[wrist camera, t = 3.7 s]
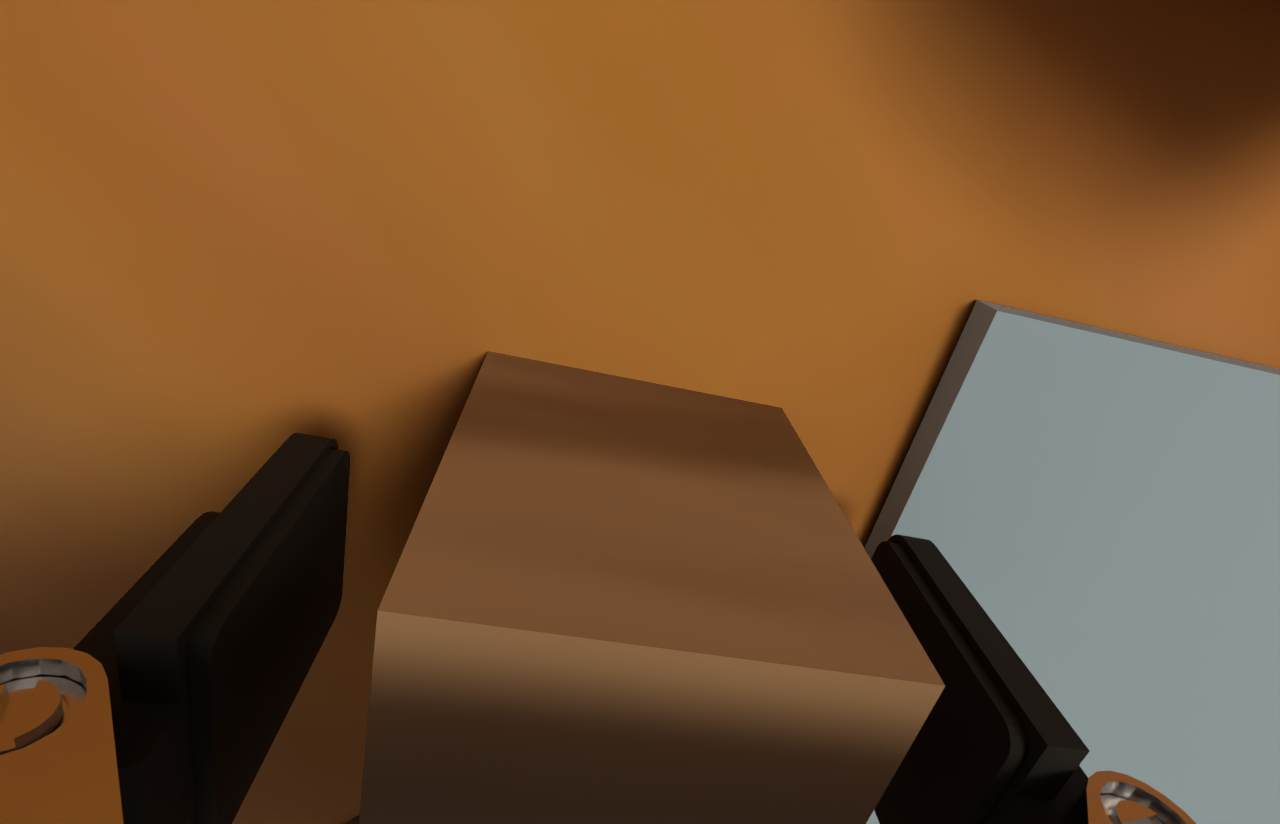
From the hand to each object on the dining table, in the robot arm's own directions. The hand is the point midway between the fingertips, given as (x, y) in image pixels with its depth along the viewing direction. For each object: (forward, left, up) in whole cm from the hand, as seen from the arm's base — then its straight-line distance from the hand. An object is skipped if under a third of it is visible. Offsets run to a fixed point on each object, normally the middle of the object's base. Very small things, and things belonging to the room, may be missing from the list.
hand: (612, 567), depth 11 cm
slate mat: (+4, +12, -2) cm, 13 cm away
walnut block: (0, 0, -2) cm, 2 cm away
